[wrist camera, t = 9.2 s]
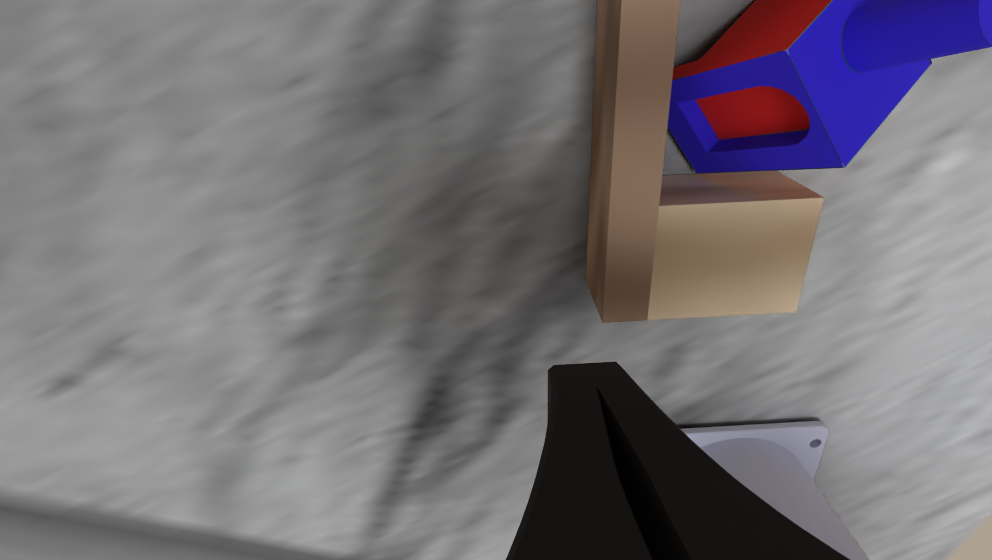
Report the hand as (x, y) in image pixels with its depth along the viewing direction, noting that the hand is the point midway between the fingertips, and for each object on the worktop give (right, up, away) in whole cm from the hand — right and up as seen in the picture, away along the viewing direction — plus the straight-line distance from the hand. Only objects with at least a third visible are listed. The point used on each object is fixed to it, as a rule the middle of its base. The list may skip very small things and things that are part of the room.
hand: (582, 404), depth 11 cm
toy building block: (+6, +9, +7) cm, 13 cm away
